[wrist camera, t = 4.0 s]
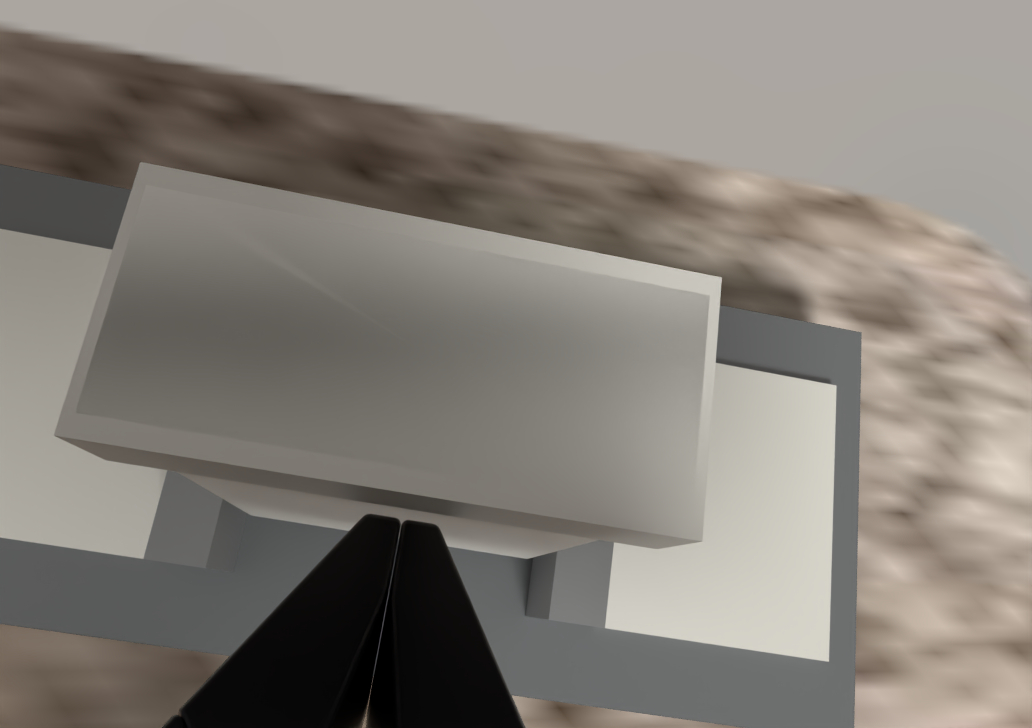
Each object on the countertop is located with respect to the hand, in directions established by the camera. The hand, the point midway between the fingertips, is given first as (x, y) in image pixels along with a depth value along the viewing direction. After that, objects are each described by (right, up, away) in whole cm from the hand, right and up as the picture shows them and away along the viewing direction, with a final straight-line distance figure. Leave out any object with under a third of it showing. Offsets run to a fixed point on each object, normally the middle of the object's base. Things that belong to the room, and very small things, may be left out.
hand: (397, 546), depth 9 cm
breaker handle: (-1, 0, +6) cm, 6 cm away
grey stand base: (-1, 0, +9) cm, 10 cm away
